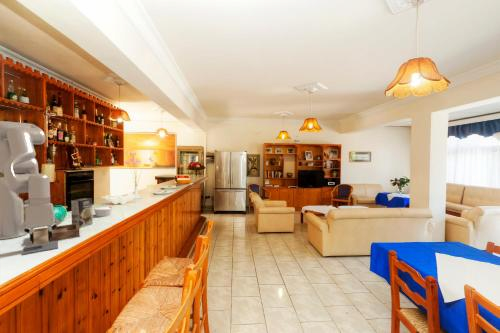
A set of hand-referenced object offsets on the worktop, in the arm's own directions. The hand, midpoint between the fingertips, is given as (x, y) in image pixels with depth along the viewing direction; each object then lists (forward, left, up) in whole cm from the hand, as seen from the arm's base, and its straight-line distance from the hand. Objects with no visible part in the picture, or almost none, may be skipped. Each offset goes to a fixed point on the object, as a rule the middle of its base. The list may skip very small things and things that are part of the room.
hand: (41, 240), depth 114 cm
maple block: (0, 0, -1) cm, 1 cm away
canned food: (-5, +54, -4) cm, 54 cm away
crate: (+6, +15, -4) cm, 17 cm away
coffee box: (+18, +32, -4) cm, 37 cm away
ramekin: (+32, +54, -4) cm, 63 cm away
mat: (0, 0, -4) cm, 4 cm away
